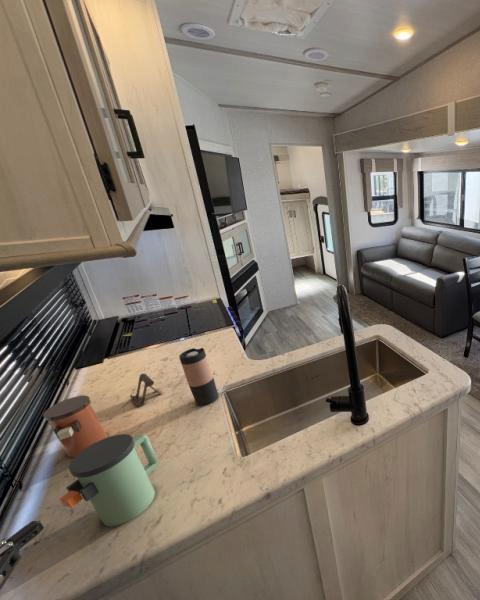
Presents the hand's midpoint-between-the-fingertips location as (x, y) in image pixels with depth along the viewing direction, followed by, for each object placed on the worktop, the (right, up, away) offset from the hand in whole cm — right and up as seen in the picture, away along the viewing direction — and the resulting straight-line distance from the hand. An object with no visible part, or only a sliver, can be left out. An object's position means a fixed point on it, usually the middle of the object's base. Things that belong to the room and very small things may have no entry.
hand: (39, 524), depth 59 cm
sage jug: (+4, -7, +17) cm, 19 cm away
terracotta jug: (-27, -2, +36) cm, 46 cm away
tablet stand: (-26, +6, +57) cm, 63 cm away
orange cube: (+1, +1, +5) cm, 5 cm away
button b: (-24, +5, +27) cm, 36 cm away
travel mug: (-1, +6, +54) cm, 54 cm away
